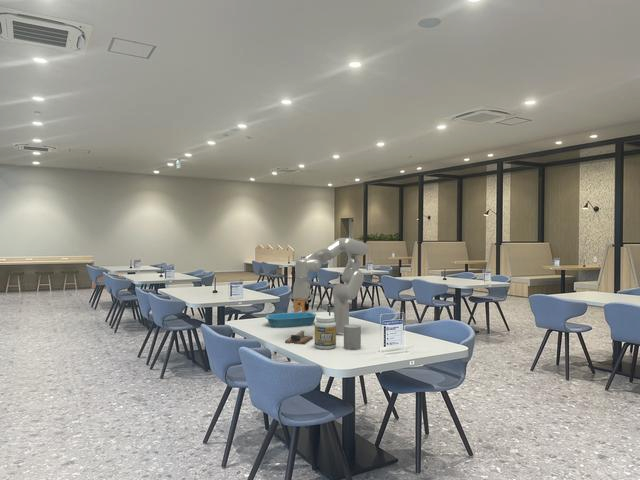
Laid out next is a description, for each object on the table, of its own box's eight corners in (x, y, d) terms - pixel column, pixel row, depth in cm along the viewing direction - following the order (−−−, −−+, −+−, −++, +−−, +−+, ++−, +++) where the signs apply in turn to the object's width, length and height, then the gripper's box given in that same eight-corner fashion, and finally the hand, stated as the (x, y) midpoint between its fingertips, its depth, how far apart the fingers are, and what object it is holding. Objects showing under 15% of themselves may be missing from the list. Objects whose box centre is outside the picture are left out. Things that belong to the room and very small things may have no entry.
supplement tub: (316, 350, 259) (316, 319, 259) (312, 345, 271) (312, 315, 271) (338, 349, 261) (338, 318, 261) (333, 344, 273) (333, 314, 273)
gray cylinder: (355, 350, 257) (355, 328, 257) (340, 348, 262) (340, 326, 262) (363, 347, 266) (363, 325, 265) (348, 345, 271) (348, 323, 270)
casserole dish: (269, 329, 317) (269, 319, 317) (261, 323, 338) (261, 313, 338) (321, 326, 330) (321, 315, 330) (310, 320, 351) (310, 311, 351)
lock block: (308, 310, 289) (308, 299, 289) (304, 313, 281) (304, 301, 281) (298, 310, 291) (298, 298, 291) (293, 312, 283) (293, 300, 283)
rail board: (312, 338, 288) (312, 331, 288) (304, 344, 273) (304, 336, 272) (293, 337, 291) (293, 330, 291) (285, 343, 276) (285, 335, 276)
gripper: (317, 280, 287) (316, 309, 287) (290, 279, 292) (289, 308, 292) (313, 281, 280) (313, 311, 280) (285, 280, 285) (285, 310, 285)
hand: (301, 309), depth 286 cm, fingers closed on lock block, 6 cm apart
